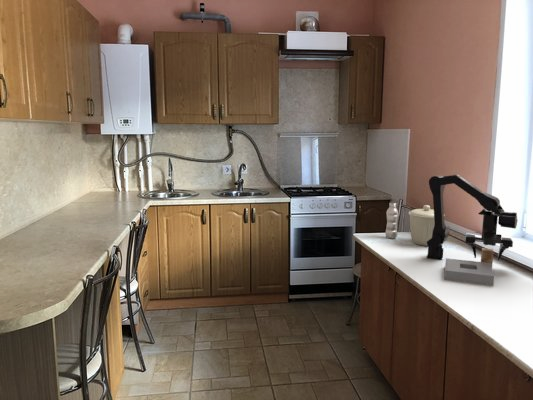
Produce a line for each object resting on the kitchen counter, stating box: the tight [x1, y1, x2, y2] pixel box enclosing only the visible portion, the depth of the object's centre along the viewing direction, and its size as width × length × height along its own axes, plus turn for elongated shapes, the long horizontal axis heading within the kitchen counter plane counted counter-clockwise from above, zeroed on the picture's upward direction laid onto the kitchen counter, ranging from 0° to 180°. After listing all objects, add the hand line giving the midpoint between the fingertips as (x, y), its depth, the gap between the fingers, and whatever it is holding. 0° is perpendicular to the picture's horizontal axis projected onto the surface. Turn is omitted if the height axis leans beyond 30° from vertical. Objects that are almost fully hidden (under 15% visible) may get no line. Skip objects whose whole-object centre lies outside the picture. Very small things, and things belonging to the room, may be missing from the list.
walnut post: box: [480, 247, 494, 267], centre depth 198 cm, size 4×4×8 cm
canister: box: [408, 204, 446, 247], centre depth 235 cm, size 18×18×21 cm
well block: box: [444, 257, 495, 286], centre depth 186 cm, size 18×18×4 cm
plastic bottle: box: [384, 202, 399, 239], centre depth 247 cm, size 6×7×20 cm
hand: (486, 259), depth 198 cm, fingers open, 9 cm apart
